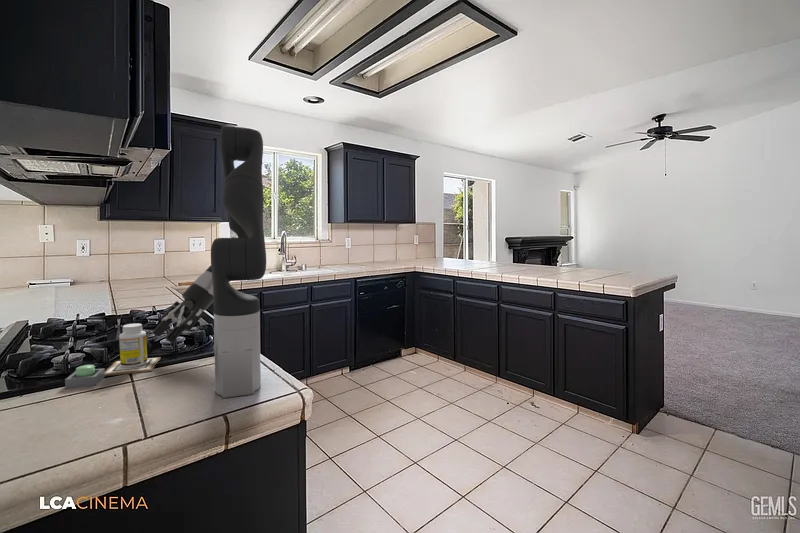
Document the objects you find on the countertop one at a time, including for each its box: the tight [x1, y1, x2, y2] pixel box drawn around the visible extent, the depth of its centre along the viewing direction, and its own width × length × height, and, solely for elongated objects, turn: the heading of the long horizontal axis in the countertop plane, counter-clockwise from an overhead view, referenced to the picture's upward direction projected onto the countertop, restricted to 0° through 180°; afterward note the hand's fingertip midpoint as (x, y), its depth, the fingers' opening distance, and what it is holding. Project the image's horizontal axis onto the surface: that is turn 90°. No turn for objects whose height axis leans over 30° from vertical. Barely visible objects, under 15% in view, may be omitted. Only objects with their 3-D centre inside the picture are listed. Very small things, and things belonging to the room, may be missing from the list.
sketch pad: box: [105, 356, 162, 377], centre depth 93 cm, size 10×10×1 cm
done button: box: [75, 364, 96, 377], centre depth 83 cm, size 3×3×2 cm
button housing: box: [64, 368, 106, 389], centre depth 83 cm, size 5×5×2 cm
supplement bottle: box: [118, 323, 148, 368], centre depth 93 cm, size 6×6×10 cm
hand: (161, 337), depth 98 cm, fingers open, 8 cm apart
